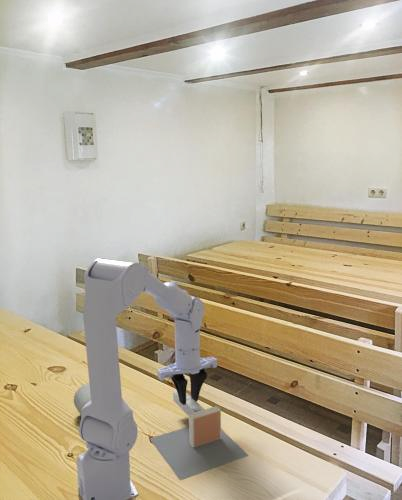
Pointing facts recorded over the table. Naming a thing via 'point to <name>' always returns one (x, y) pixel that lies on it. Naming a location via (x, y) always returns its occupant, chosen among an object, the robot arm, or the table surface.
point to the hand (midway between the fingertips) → (188, 401)
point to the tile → (204, 426)
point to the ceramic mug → (82, 397)
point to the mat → (195, 452)
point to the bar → (187, 404)
